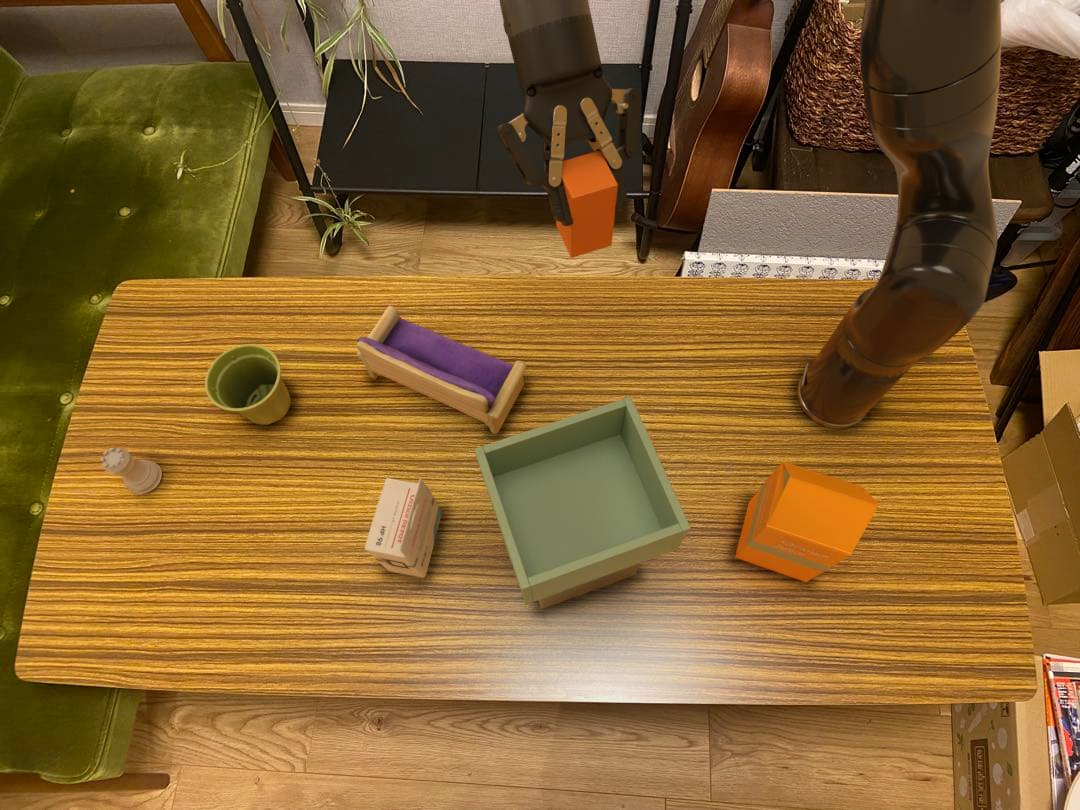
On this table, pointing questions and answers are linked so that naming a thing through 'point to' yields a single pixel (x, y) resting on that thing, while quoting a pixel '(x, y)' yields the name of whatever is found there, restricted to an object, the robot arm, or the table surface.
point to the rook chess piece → (132, 470)
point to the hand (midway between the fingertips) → (592, 216)
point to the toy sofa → (442, 368)
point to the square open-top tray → (581, 499)
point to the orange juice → (803, 522)
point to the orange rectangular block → (588, 203)
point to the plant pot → (248, 384)
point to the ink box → (404, 527)
